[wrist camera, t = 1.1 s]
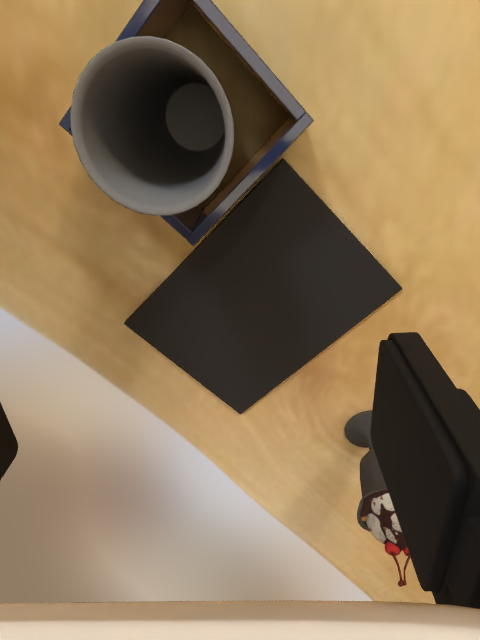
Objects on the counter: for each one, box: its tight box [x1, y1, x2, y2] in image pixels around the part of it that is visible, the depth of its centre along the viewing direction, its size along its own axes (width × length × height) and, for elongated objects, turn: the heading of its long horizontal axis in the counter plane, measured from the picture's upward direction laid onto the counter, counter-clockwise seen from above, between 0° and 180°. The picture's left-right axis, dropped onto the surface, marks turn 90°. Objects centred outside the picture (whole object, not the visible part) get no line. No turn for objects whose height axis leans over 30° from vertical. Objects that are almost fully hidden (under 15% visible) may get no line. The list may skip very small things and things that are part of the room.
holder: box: [59, 0, 314, 246], centre depth 28 cm, size 11×11×6 cm
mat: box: [124, 159, 402, 414], centre depth 37 cm, size 15×20×1 cm
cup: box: [70, 36, 234, 216], centre depth 24 cm, size 7×7×15 cm
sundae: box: [345, 411, 410, 587], centre depth 37 cm, size 7×7×15 cm
